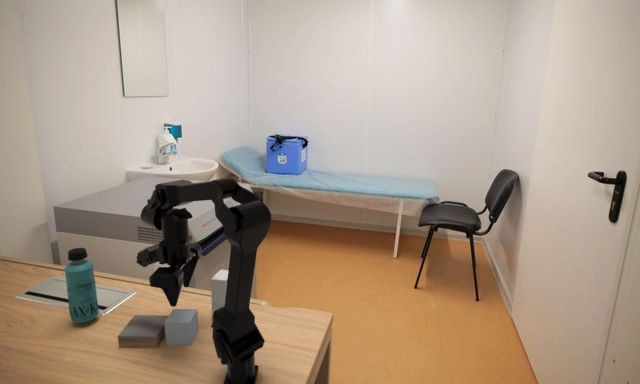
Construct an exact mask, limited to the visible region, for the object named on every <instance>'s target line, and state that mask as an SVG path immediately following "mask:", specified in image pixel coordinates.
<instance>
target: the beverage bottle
mask: <svg viewBox="0 0 640 384" xmlns="http://www.w3.org/2000/svg"><path fill="white" fill-rule="evenodd" d="M67 254H68V255H67V260H68V261H70V262H69V263H68V264H67V265H66V266H65V267H64V275H65V280H66V281H65V282H66V288H67V289H66V292H67V300H68V303H67V304H68V310H69V316H70V320H71V321H72V322H74V323H77V324H79V323H80V324H82V323H86V322H89V321H92V320H93V319H95V318H96V317H98V315H99V313H100V312H99V308H100V307H99V301H98V295H97V287H96V283H97V281H96V280H95V272H94V271H95V270H94V263H93V262H91V261H90V260H88V259H86V258H88V252H87V249H86V248H84V247H75V248H72V249H70V250H68V251H67Z"/></svg>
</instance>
